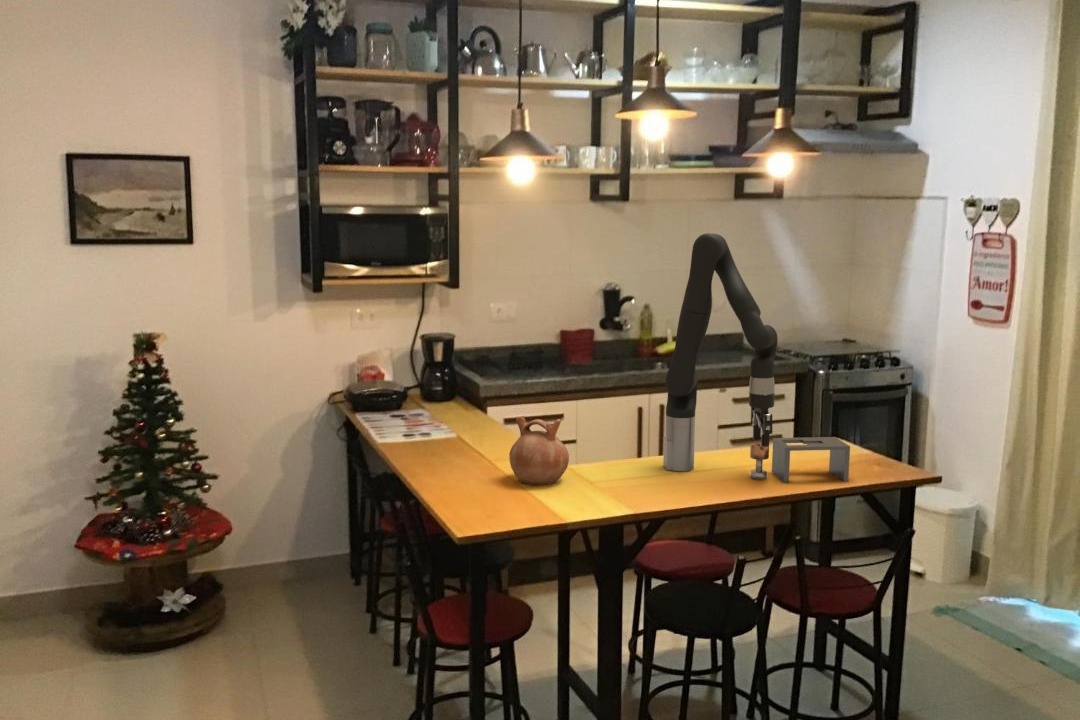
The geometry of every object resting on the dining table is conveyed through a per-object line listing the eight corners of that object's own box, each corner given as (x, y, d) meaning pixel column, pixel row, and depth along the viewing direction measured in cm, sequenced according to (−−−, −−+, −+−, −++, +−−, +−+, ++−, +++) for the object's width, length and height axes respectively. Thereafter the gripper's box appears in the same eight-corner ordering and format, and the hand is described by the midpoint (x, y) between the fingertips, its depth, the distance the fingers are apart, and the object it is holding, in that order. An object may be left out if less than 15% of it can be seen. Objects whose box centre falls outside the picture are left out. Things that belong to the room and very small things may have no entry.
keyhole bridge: (783, 482, 292) (785, 447, 290) (771, 472, 303) (773, 438, 302) (848, 481, 293) (850, 446, 291) (833, 470, 305) (835, 436, 303)
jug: (579, 477, 298) (580, 414, 295) (550, 492, 282) (550, 426, 279) (528, 469, 307) (528, 408, 304) (497, 483, 292) (497, 419, 288)
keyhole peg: (752, 480, 294) (753, 447, 292) (747, 475, 300) (748, 442, 298) (770, 480, 295) (771, 446, 293) (764, 475, 300) (766, 442, 298)
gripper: (743, 387, 300) (742, 438, 302) (756, 396, 286) (755, 449, 288) (766, 386, 300) (765, 437, 303) (781, 395, 286) (780, 448, 289)
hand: (761, 443), depth 295 cm, fingers open, 8 cm apart
